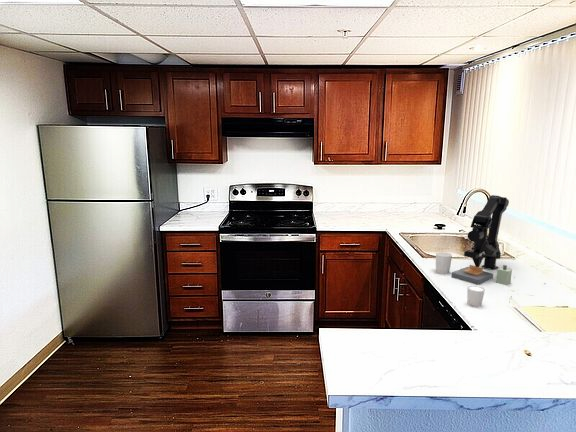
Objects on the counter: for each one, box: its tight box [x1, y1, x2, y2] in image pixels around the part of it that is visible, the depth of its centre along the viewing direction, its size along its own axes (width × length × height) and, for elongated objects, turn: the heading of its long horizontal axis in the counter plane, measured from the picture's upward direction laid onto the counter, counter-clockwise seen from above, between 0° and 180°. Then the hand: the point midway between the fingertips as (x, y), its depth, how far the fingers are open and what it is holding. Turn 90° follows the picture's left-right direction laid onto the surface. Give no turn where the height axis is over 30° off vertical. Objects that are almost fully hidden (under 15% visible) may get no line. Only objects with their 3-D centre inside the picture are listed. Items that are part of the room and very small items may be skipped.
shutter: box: [463, 264, 484, 275], centre depth 206 cm, size 6×7×2 cm
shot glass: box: [466, 285, 485, 308], centre depth 174 cm, size 7×7×7 cm
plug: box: [495, 264, 513, 286], centre depth 199 cm, size 4×5×9 cm
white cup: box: [435, 251, 453, 275], centre depth 214 cm, size 8×8×10 cm
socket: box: [450, 266, 494, 286], centre depth 206 cm, size 15×14×2 cm
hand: (477, 267), depth 208 cm, fingers closed
